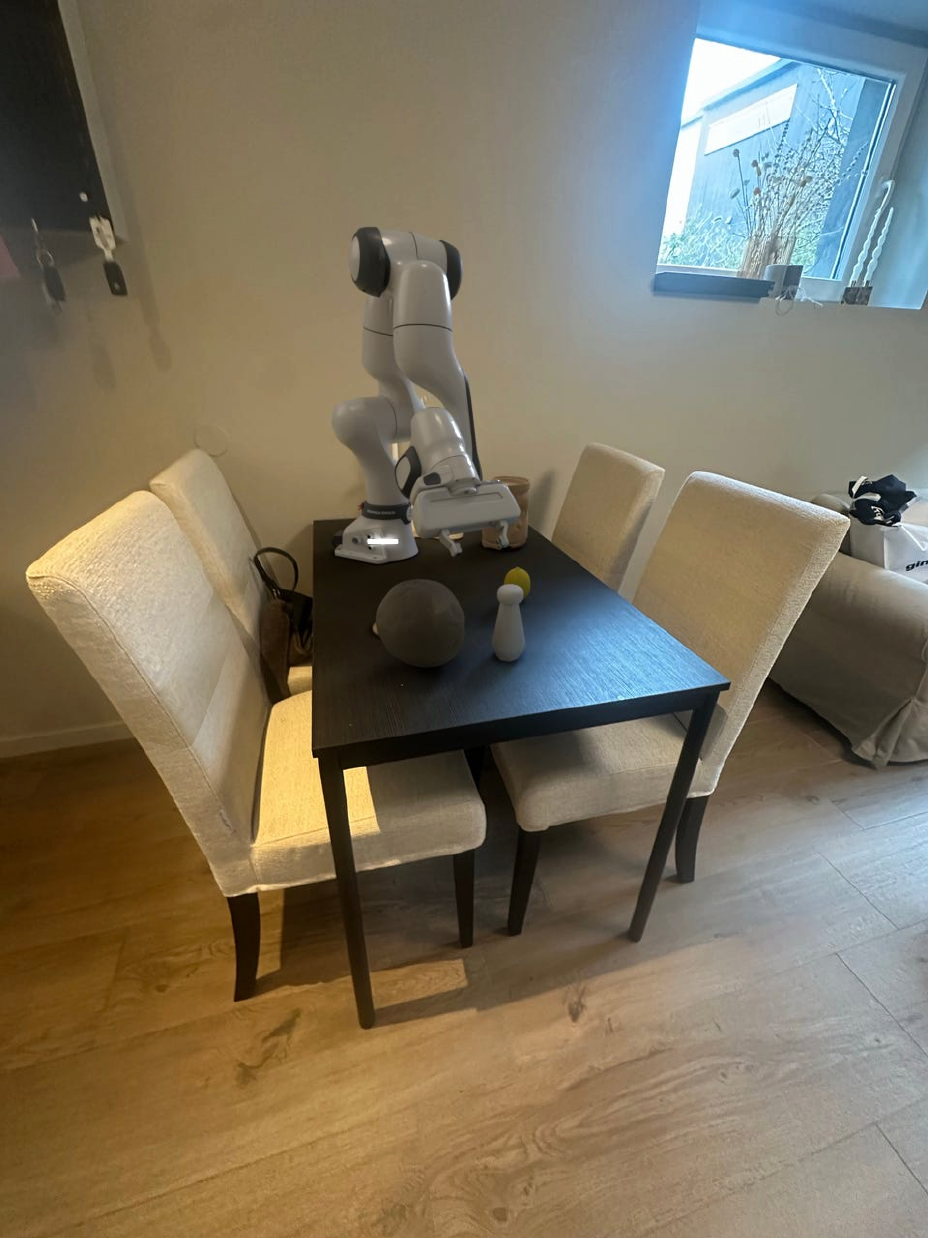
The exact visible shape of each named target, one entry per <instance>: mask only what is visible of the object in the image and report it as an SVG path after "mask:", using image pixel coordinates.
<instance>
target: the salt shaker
mask: <svg viewBox="0 0 928 1238" xmlns="http://www.w3.org/2000/svg"><path fill="white" fill-rule="evenodd" d="M496 591H497V592H496V598H497V602H499V606H498V610H497V615H496V620H495V625H494V629H493V632H492V633H493V634H492V638H491V646H492V647H491V648H492V650H493V651H494V654H495V656H496V657H497V658H498V660H499V661H503V662H510V663H511V662H513V661H517V660H519V659H520V657H521V656H522V654H523V652H524V649H525V647H526V638H525V634H524V627H523V621H522V615H521V610H520V603H522V601H523V600H524V599H523V590H522V588H520V587H519V586H517V585H513V584H507V585H504V584H502V585H501V586H499V587H498V589H497V590H496ZM522 599H523V600H522Z"/></svg>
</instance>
